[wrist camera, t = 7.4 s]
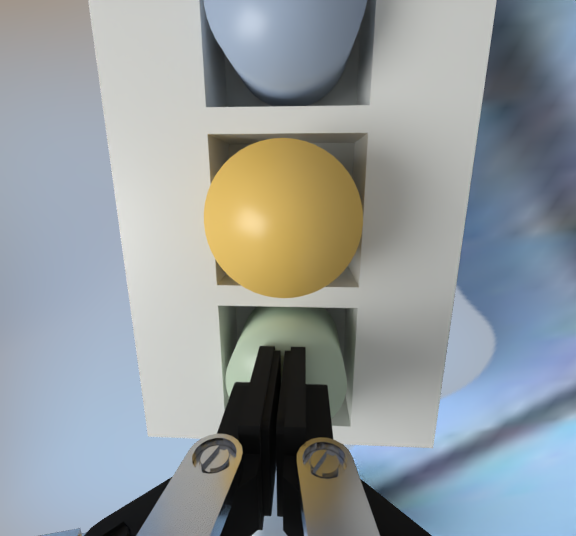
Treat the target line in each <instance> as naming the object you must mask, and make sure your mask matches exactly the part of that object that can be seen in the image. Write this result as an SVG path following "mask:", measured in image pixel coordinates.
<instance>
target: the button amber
mask: <svg viewBox="0 0 576 536" xmlns="http://www.w3.org/2000/svg"><path fill="white" fill-rule="evenodd" d="M204 228H205V234H206V238H207V242H208V245H209V247H210V250H211V252H212V254H213V256H214V257H215V259H216V261H217V262H218V264H219V265H220V266H221V268H222V269H223V270H224V271H225V272H226V273H227V275H228V276H229V277H231V278H232V279H233V280H234V281H235V282H237V283H238V284H240V285H241V286H243V287H244V288H246V289H248V290H250V291H252V292H255V293H258V294H261V295H264V296H268V297H274V298H294V297H300V296H304V295H308V294H311V293H314V292H316V291H318V290H320V289H322V288H324V287H325V286H327V285H329V284H330V283H331V282H333V281H334V280H335V279H336V278H337V277H338V276H339V275H340V274H341V273H342V272H343V271H344V270H345V269H346V267H347V266H348V265H349V263H350V262H351V260H352V258H353V257H354V255H355V253H356V250H357V248H358V246H359V243H360V239H361V235H362V228H363V210H362V203H361V199H360V195H359V192H358V190H357V187H356V185H355V183H354V181H353V179H352V177H351V176H350V174H349V172H348V171H347V170H346V169H345V167H344V166H343V165H342V164H341V163H340V162H339V161H338V160H337V159H336V158H335V157H334V156H333V155H331V154H330V153H328V152H327V151H326V150H324V149H322V148H320V147H318V146H316V145H315V144H312V143H309V142H306V141H303V140H298V139H293V138H273V139H267V140H263V141H259V142H256V143H254V144H251V145H249V146H247V147H245V148H243V149H241V150H240V151H238V152H237V153H236V154H234V155H233V156H232V157H231V158H229V159H228V160H227V161H226V162H225V163H224V164H223V166H222V167H221V168H220V170H219V171H218V172H217V174H216V175H215V177H214V179H213V181H212V183H211V185H210V187H209V190H208V193H207V196H206V200H205V206H204Z"/></svg>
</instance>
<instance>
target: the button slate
mask: <svg viewBox="0 0 576 536" xmlns="http://www.w3.org/2000/svg"><path fill="white" fill-rule="evenodd" d="M366 3H367V0H204V7H205V12H206V16H207V19H208V22H209V25H210V28H211V30H212V32H213V35H214V37H215V39H216V40H217V42H218V44H219V45H220V47H221V48H222V50H223V52H224V53H225V55H226V56H227V58H228V59H229V61H230V62H231V64H232V66H233V67H234V69H235V70H236V72H237V73H238V75H239V77H240V78H241V80H242V81H243V83H244V84H245V86H246V87H247V88H248V89H249V91H250V92H252V93H253V94H254V95H255V96H256V97H257V98H259V99H260V100H261V101H263V102H265V103H267V104H269V105H272V106H308V105H311V104H313V103H315V102H317V101H318V100H320V99H321V98H323V97H324V96H325V95H326V94H328V93H329V92H330V91H331V90H332V88H333V87H334V86H335V85H336V84H337V82H338V80H339V79H340V77H341V76H342V73H343V71H344V69H345V67H346V64H347V61H348V58H349V55H350V53H351V50H352V47H353V44H354V41H355V38H356V36H357V33H358V30H359V27H360V24H361V21H362V18H363V16H364V12H365V8H366Z"/></svg>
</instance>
